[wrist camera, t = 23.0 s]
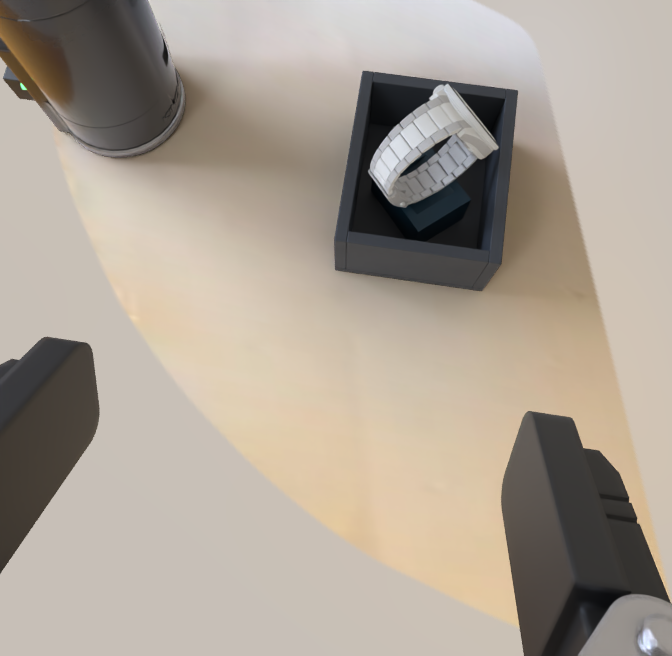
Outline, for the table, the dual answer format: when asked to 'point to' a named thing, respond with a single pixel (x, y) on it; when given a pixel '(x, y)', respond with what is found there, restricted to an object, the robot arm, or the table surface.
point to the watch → (429, 165)
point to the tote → (477, 181)
